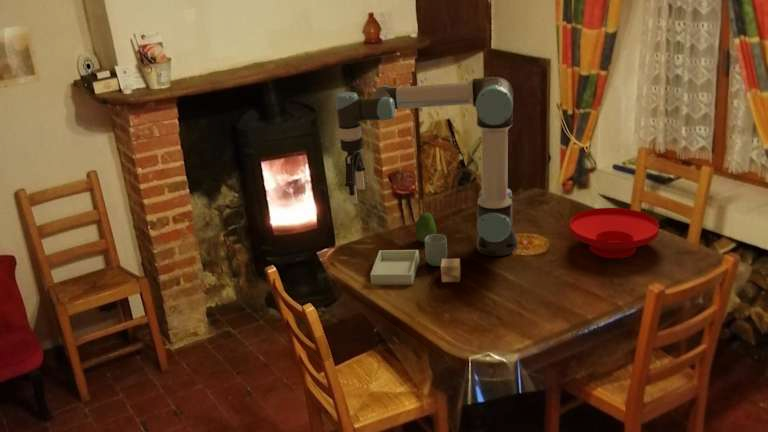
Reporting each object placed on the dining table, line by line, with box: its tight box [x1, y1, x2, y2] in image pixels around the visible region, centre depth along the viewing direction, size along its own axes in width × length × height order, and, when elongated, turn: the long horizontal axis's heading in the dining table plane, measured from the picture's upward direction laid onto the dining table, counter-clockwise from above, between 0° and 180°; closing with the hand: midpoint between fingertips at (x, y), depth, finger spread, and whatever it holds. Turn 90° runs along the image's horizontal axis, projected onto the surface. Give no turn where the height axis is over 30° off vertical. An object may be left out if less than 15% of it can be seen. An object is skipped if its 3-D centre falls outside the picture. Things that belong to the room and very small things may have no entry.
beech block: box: [440, 258, 462, 283], centre depth 281 cm, size 6×6×6 cm
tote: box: [369, 249, 420, 286], centre depth 290 cm, size 14×19×4 cm
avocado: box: [414, 212, 437, 244], centre depth 310 cm, size 8×8×12 cm
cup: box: [424, 233, 448, 267], centre depth 292 cm, size 8×8×10 cm
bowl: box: [568, 207, 660, 259], centre depth 291 cm, size 30×30×10 cm
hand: (357, 195), depth 288 cm, fingers open, 13 cm apart
